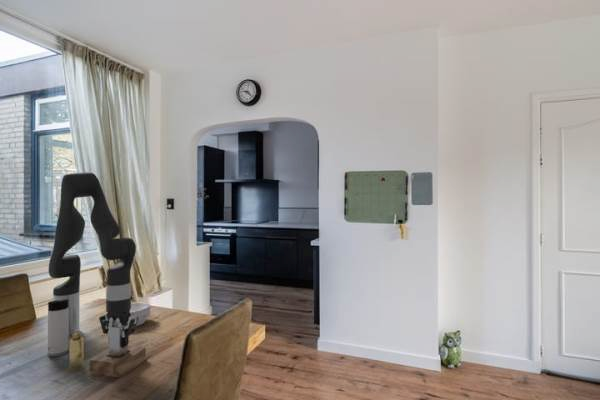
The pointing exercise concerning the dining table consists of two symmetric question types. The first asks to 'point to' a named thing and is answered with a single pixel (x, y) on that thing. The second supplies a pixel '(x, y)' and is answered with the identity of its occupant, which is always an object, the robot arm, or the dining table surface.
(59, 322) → the travel mug
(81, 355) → the round bit
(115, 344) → the square bit
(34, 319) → the dining table surface
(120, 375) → the socket block
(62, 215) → the robot arm
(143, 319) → the white patterned bowl
